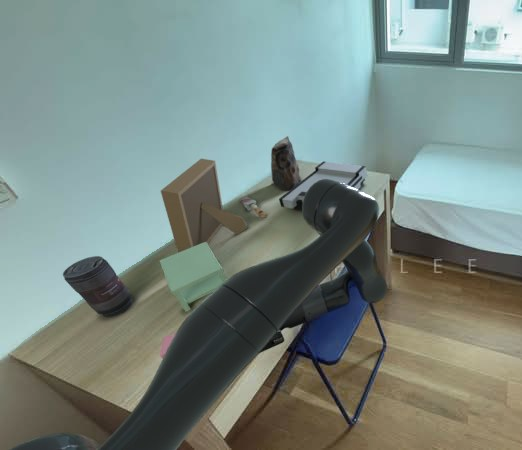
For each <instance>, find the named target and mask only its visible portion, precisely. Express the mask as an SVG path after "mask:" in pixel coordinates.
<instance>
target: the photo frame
mask: <svg viewBox="0 0 522 450" xmlns="http://www.w3.org/2000/svg"><path fill="white" fill-rule="evenodd" d="M219 183H220V182H219V176H218V170H217V163H216V160H212V159H207V158H200V159H199V160H197V161H196V162H195V163H193V164H192V165H191V166H190V167H188V168H186V170H185V171H183V172H182V173H181V174H179V175H178V176H177V177H175V178H174V179H173V180H172V181H171V182H170V183H168V184H167V185H166V186H165V187H163V188H162V189H161V190H160V194H161V197H162V201H163V205H164V208H165V212H166V215H167V219H168V222H169V226H170V230H171V233H172V237H173V240H174V244H175V247H176V251H177V253H179V252H181V251H184V250H186V249H189V248H191V247H194V246H196V245H199V244H201V243H204V242H206V243H207V245H209V243H210V242H211V240H212V238H214V236H215V235H216V234H217V232H218V231H219V230H220V228H221V227H222V226H224V227H225V228H226V229H228V230H230V231H231V232H233V233H234V234H235V235H238V234H240V233H242V232H244V231H245V230H246V229H248V225H247V224H246V222H245V220H244V219H243V217H242V216H239V215H236V214H233V213H231V212H228V211H226V210H224V209H223V201H222V196H221V188H220V184H219Z"/></svg>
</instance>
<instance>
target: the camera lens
mask: <svg viewBox="0 0 522 450" xmlns="http://www.w3.org/2000/svg"><path fill="white" fill-rule="evenodd" d="M62 276H63V278H64V281H65V282H66V283H67V284H68V285H69V286H70V287H71V288H72V289H73V290H74V291H75V292H76V293H77V294H79V296H80V297H81V298H82V299H83V300H84V301H85V302H86V304H87V305H88V306H89V307H90V308H91V309H92V310H93V311H94V312H96V313H97V314H99V315H101V316H103V317H104V318H114V317H117V316H120V315H121V314H124V313H125V312H126V311H127V310H129V309H130V308H131V307H132V305H133V304H134V300H133V297H132V293H131V292H130V290H129V288H128V287H127V285H126V284H125V283H124V282H123V281H122V280H121V278H120V277H118V275H117V273H116V272H115V270H114V268H113V267H112V265H111V264H110V263H109V262H108V260H106V259H104V257H102V256H99V255H95V256H89V257H86V258H83V259H79V260H78V261H76V262H74V263H72V264H71V265H70V266H68V267H67V268H66V269H64V271H63V272H62Z"/></svg>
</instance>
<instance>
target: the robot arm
mask: <svg viewBox="0 0 522 450" xmlns="http://www.w3.org/2000/svg"><path fill="white" fill-rule="evenodd" d="M301 214H302V217H303V220H304V221H305V223H306V224H307V225H308V226H309V228H311V229H312V230H313V231H315V233H316V234H318V235H319V236H318V237H316V238H315V239H314V240H313V241H312V242H310V243H309V244H307V245H306V246H303V247H302V248H300V249H298V250H296V251H293V252H290V253H288V254H285V255H282V256H278V257H275V258H272V259H270V260H266V261H264V262H260V263H257V264H254V265H251V266H249V267H247V268H244V269H243V270H240V271H239V272H237V273H235V274H233V275H231V276H230V277H229V278H227V281H225V282H224V283H223V284H222V285H221V286H220V287H218V288H217V289H216V290H215V291H213V292H211V293H210V295H208V296H207V297H206V298H205V299H204V300H203V301H201V302H200V304H198V305H197V306H196V307H195V308H194V309H193V310H192V311H191V312H190V313H189V314H188V316H187V317H186V318H185V319H184V320H183V322H182V323H181V324H180V326H179V328H178V329H177V330H176V332H175V333H176V334H175V333H174V334H175V336H174V338H173V340H172V342H171V344H170V345H169V347H168V349H167V351H166V353H165V355H164V357H163V359H162V360H161V362H160V364H159V365H158V368H157V370H156V372H155V374H154V376H153V378H152V379H151V382H150V384H149V386H148V388H147V389H146V391H145V392H144V394H143V396H142V397H141V399H140V400H139V402H138V403H137V404H136V406H135V407H134V409H133V410H132V411H131V412H130V414H129V415H128V416H127V417H126V418H125V419H124V421H123V422H122V423H121V424H120V425H119V426H118V428H116V430H115V431H114V432H113V433H112V434H111V435H109V437H108V438H107V439H106V440H105V441H104V442H103V443H102V444H100V443H99V442H97V441H96V440H94V439H93V438H91V437H88V436H86V435H83V434H80V433H76V432H75V433H74V432H60V433H58V432H57V433H51V434H46V435H42V436H37V437H35V438H31V439H29V440H26V441H24V442H21V443H19V444H17V445H15V446H12V447H11V448H9V449H8V450H177V449H178V448H179V447H180V446H181V444H182V443H183V442H184V440H185V439H186V438H187V437H188V435H189V434H190V433H191V432H192V431H193V429H194V428H195V427H196V426H197V425H198V423H199V422H200V421H201V420H202V419H203V417H204V416H205V415H206V414H207V413H208V411H209V410H210V409H211V408H212V407H213V405H215V403H216V402H217V401H218V400H219V398H220V397H221V396H222V395H223V394H224V392H226V390H227V389H228V388H229V387H230V386H231V384H232V383H233V382H234V381H235V380H236V379H237V378H238V376H239V375H240V374H241V373H242V372H243V371H244V370H245V369H246V368H247V367H248V365H250V363H251V362H252V361H253V360H254V359H255V358H257V356H258V355H259V354H261V353H263V352H265V351H267V350H270V349H272V348H274V347H276V346H278V345H281V344H283V343H285V337H284V335H283V333H282V331H283V330H285V329H292V328H296V327H299V326H301V325H303V324H305V323H309V322H311V321H313V320H316V319H319V318H321V317H323V316H324V315H326V314H328V313H332V312H334V311H337V310H339V309H342V308H345V307H346V306H348V305H349V304H350V302H351V296H350V288H351V287H352V285H355V286H356V289H357V291H358V293H359V296H360V298H361V299H362V300H363V301H364V302H365V303H368V304H375V303H378V302H381V301H382V300H383V299H384V298H385V297H386V296H387V294H388V291H389V287H388V286H389V285H388V284H387V282H386V279H385V278H384V275H383V273H382V271H381V268H380V265H379V261H378V258H377V254H376V252H375V250H374V248H373V246H372V245H371V244H370V243H369V242H368V241H367V240H366V239H367V237H368V236H369V235H370V234H371V233H372V230H374V227H375V226H376V224H377V221H378V219H379V217H380V216H379V215H380V205H379V202H378V200H377V199H375V197H374V196H372V195H370V194H369V193H366V192H364V191H362V190H361V189H360V190H358V189H356V188H354V187H351V186H349V185H347V184H344V183H342V182H340V181H337V180H333V179H321V180H319V181H317V182H315V183H314V184H313V185H312V186H311V187H310V188H309V189H308V191H307V193H306V194H305V197H304V199H303V204H302V210H301ZM341 263H342V264H343V266H344V268H345V269H346V272H344V273H342V274H341V275H339V276H337V277H336V278H334V279H331V280H328V281H325V282H323V281H324V280H325V279H326V278H327V277H328V276H329V275H330V274H332V272H334V270H336V269H337V267H338V266H340V265H341Z"/></svg>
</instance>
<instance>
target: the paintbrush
mask: <svg viewBox="0 0 522 450" xmlns="http://www.w3.org/2000/svg"><path fill="white" fill-rule="evenodd" d="M238 200H239V201H240V202H241V204H242V205H243V207H245V208H246V210H247V211H248V212H250V211H252V210H253V211H254V212H255V213H256V214H257V215H258V216H260V218H262V219H263V218H266V217H267V214H266V213H265V212H264V211H263V210H262V209H260V208H259V206H258V205H257V201H256V200H254V199H252V198H251V197H248V196H243V197H240V198H238Z"/></svg>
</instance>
